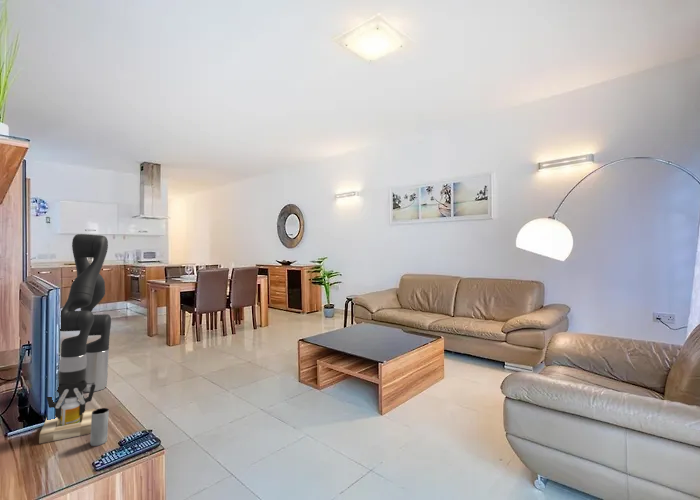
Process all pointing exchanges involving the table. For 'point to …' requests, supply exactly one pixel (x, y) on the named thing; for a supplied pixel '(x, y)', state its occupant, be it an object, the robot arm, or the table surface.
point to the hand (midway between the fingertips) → (70, 415)
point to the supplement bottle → (70, 411)
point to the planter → (99, 426)
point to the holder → (66, 428)
